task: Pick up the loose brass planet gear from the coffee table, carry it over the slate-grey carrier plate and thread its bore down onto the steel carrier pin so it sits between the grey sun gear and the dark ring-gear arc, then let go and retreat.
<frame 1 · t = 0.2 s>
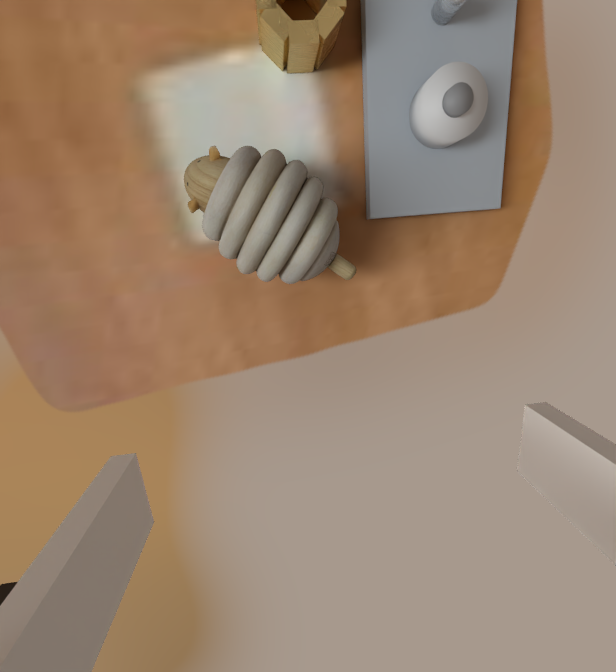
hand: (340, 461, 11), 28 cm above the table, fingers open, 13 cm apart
toy sheep: (272, 226, 35), on the table
carrier pin: (434, 22, 31), resting on carrier plate
carrier plate: (433, 84, 33), on the table
planet gear: (296, 27, 31), on the table
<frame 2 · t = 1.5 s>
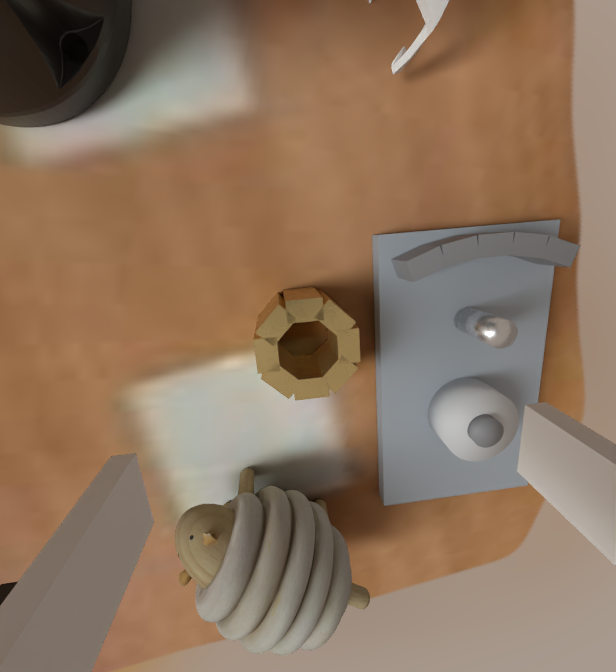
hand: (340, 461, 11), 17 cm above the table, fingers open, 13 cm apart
toy sheep: (275, 506, 32), on the table
carrier pin: (456, 315, 28), resting on carrier plate
carrier plate: (454, 370, 30), on the table
planet gear: (302, 331, 27), on the table
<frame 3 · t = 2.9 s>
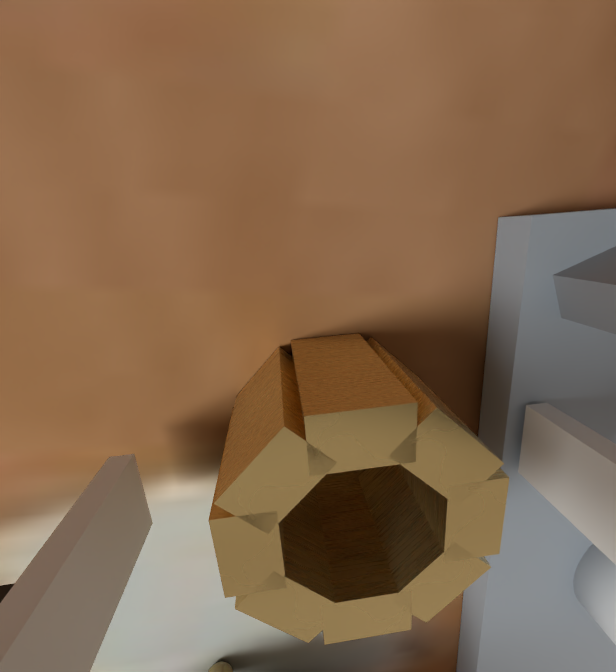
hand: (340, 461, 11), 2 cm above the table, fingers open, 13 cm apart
planet gear: (330, 424, 13), on the table
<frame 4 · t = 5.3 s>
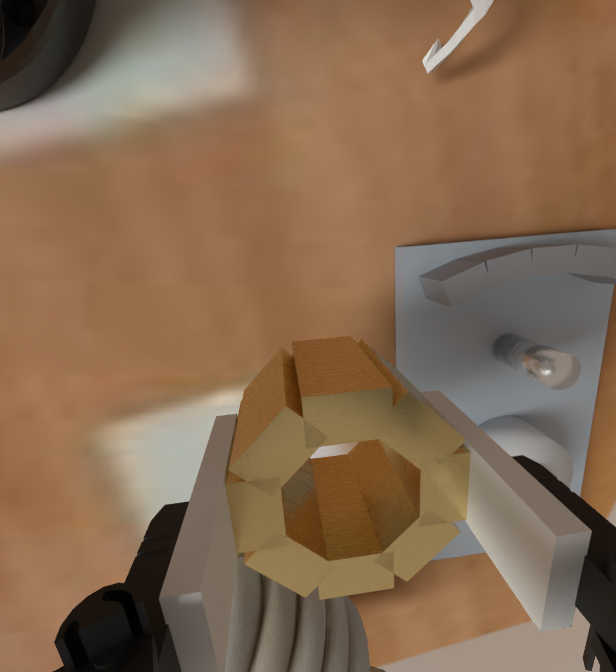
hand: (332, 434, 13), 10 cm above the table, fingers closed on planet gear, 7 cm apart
toy sheep: (276, 563, 27), on the table
carrier pin: (492, 341, 24), resting on carrier plate
carrier plate: (488, 406, 25), on the table
planet gear: (326, 416, 14), point 8 cm above the table, touching gripper
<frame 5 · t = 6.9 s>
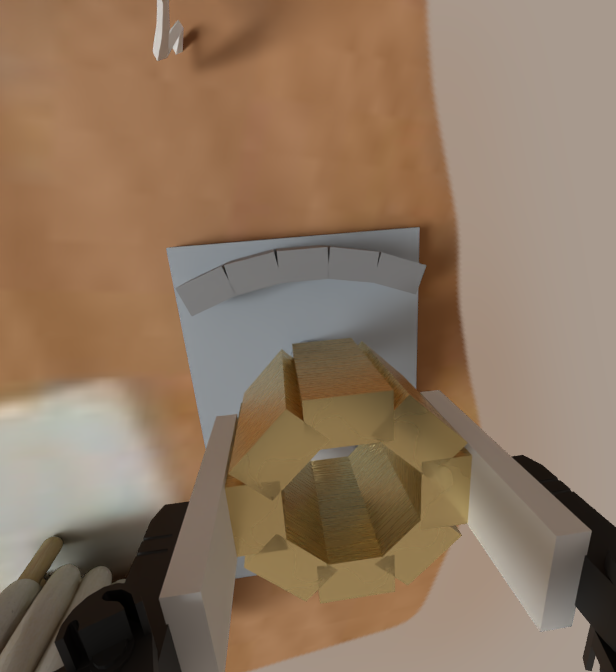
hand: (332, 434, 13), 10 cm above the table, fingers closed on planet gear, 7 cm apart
toy sheep: (103, 578, 26), on the table
carrier plate: (309, 415, 23), on the table
planet gear: (327, 418, 14), point 8 cm above the table, touching gripper
when the fingers open (2 cm above the table, at t = 8.8 s): planet gear stays where it is, resting on carrier plate.
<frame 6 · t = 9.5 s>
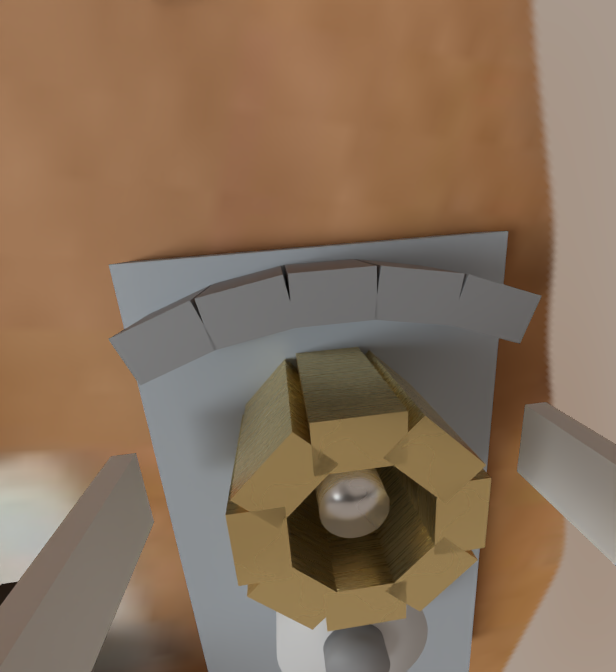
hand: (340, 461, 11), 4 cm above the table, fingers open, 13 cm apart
carrier pin: (323, 406, 15), resting on carrier plate
carrier plate: (330, 497, 17), on the table
planet gear: (332, 430, 14), point 1 cm above the table, touching carrier plate
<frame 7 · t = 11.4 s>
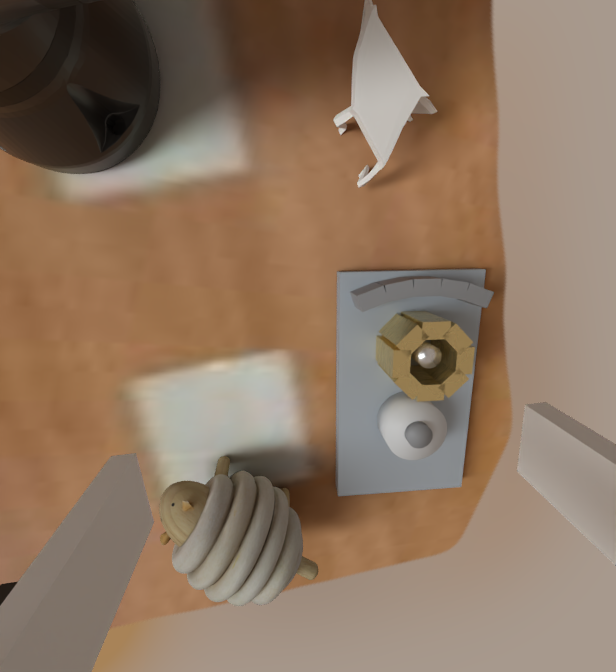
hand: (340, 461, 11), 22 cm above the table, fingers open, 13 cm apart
toy sheep: (246, 492, 37), on the table
carrier pin: (404, 339, 34), resting on carrier plate
carrier plate: (401, 385, 36), on the table
planet gear: (410, 346, 33), point 1 cm above the table, touching carrier plate
origami figure: (368, 106, 29), on the table
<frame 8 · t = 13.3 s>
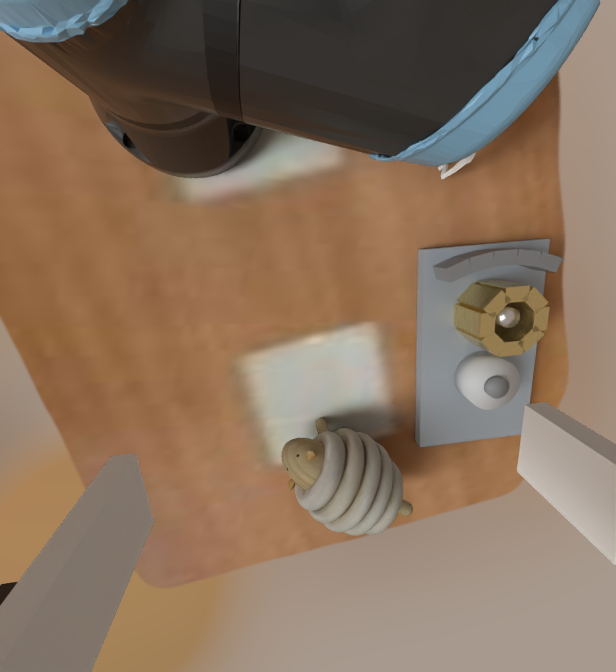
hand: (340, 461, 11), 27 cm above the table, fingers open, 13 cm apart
toy sheep: (338, 449, 43), on the table
carrier pin: (475, 306, 39), resting on carrier plate
carrier plate: (472, 347, 40), on the table
planet gear: (483, 311, 38), point 1 cm above the table, touching carrier plate
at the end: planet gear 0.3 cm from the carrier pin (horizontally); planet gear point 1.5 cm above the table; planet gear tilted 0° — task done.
